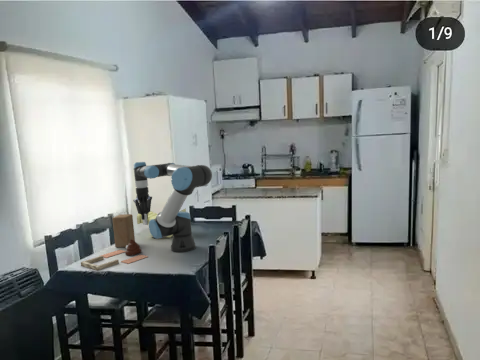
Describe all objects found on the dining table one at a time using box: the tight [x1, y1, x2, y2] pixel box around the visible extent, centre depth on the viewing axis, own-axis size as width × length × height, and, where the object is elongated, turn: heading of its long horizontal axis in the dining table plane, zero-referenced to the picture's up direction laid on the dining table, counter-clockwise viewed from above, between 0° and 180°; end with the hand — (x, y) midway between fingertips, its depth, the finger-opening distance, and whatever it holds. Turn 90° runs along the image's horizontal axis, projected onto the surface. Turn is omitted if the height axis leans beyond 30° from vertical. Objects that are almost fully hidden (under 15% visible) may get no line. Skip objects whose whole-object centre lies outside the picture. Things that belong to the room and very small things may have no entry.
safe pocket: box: [80, 255, 120, 271], centre depth 235 cm, size 17×14×2 cm
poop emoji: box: [124, 239, 142, 257], centre depth 252 cm, size 10×8×9 cm
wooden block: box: [112, 213, 136, 248], centre depth 272 cm, size 10×10×20 cm
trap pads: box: [100, 249, 149, 265], centre depth 247 cm, size 29×14×1 cm, turn 50°
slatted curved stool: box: [136, 208, 187, 238], centre depth 291 cm, size 30×16×18 cm, turn 75°
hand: (145, 224), depth 259 cm, fingers closed
